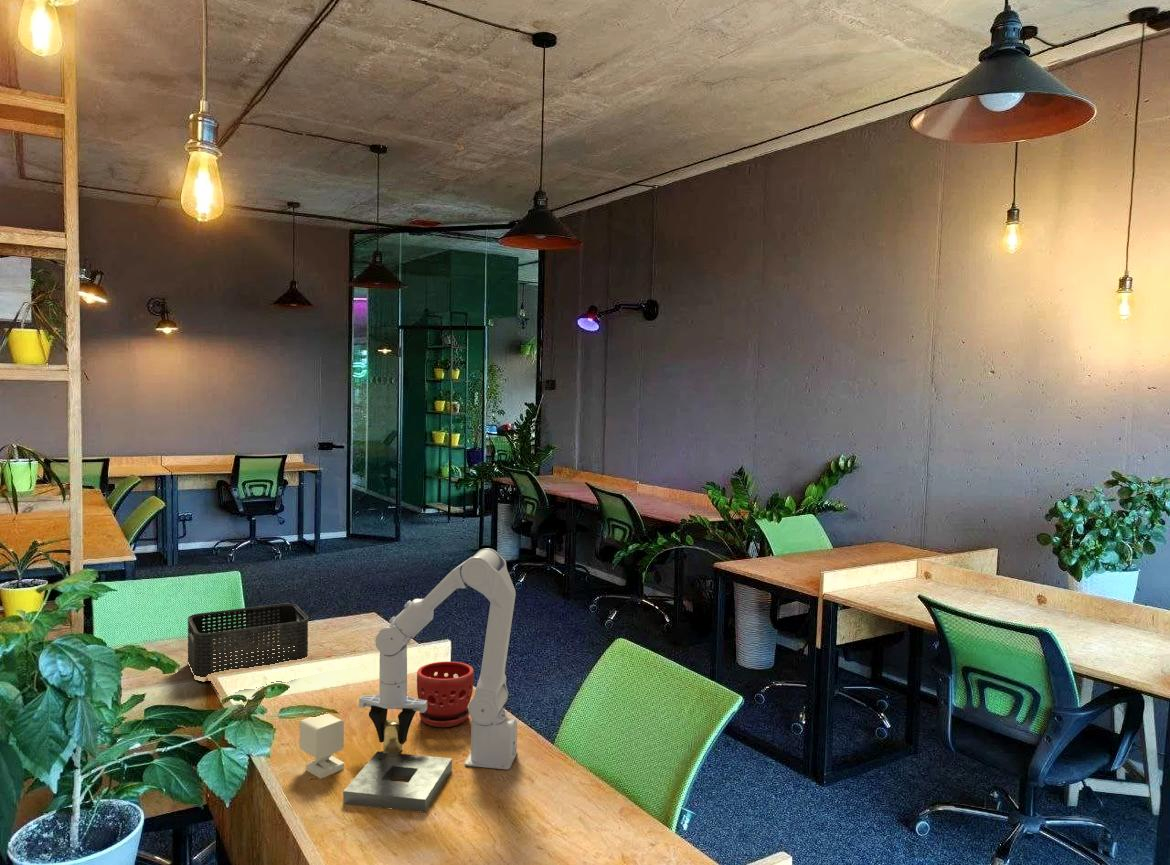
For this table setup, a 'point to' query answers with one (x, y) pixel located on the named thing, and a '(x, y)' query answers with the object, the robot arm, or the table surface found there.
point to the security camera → (322, 743)
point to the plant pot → (445, 692)
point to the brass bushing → (391, 736)
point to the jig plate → (382, 792)
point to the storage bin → (246, 638)
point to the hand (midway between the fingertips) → (393, 741)
